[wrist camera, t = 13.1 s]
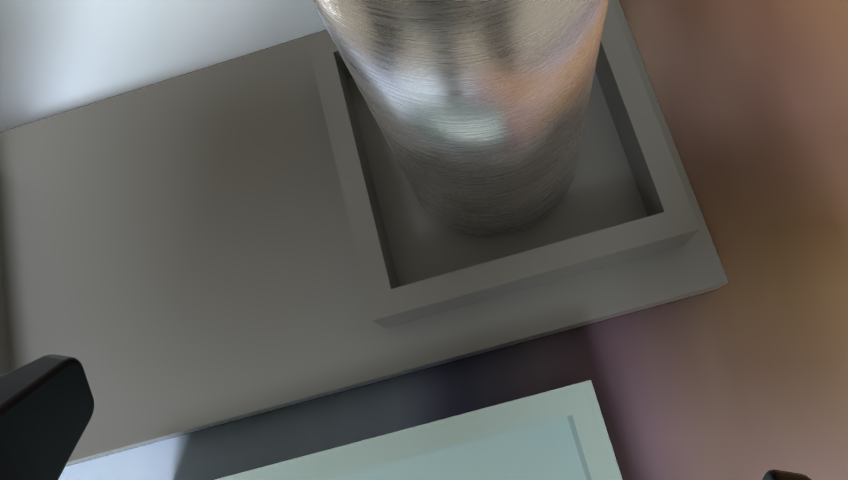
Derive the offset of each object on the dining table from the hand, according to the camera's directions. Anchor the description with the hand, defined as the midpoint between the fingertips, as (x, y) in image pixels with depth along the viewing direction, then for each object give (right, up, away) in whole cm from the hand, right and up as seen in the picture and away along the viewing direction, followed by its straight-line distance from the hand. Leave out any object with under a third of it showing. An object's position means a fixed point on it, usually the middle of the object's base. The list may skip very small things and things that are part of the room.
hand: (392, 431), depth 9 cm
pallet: (-6, +2, +11) cm, 13 cm away
